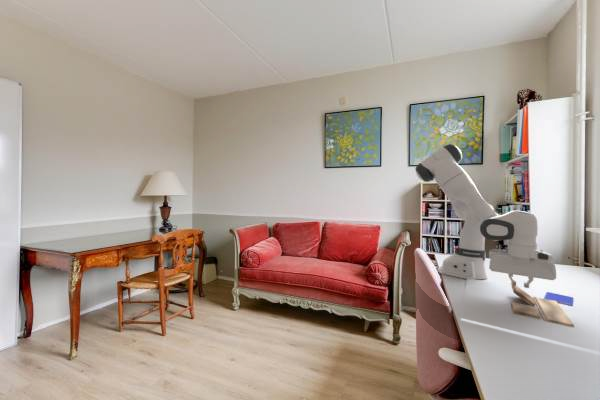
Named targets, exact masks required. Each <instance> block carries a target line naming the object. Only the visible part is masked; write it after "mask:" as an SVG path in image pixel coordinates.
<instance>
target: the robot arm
mask: <svg viewBox="0 0 600 400" xmlns="http://www.w3.org/2000/svg"><path fill="white" fill-rule="evenodd" d="M462 159H463V154H462V151H461V149H460V148H459V147H458V146H457V145H455V144H453V143H448V144H446V145H444V146H443V147H441V148H440V149H437V150H436V151H435V152H432V153H431V154H430V155H428V157H427V158H425V159H423V161H421V162H420V163H418V164H417V165H416V166H415V169H414V170H415V173H416V176H417V178H418V179H419V180H421V181H423V182H426V183H429V182H432V181H434V180H435V182H436V184H437V186H438V187H439V188H440V189H441V191H442V192H443V193H444V195H445V196H446V197H447V199H448V200H449V202H450V205H451V207H452V209H453V211H454V214H455V216H456V217H457V218H459V219H461V220H462V221H464V223H463V226H462V229H461V230H460V232H459V242H458V243H459V246H454V253H453V254H451V255H449V256H448V257H446V258H444V259H443V261H442V264H441V265H440V266H439V267H437V270H438V271H437V273H439V274H442V275H446V276H451V277H456V278H461V279H466V280H467V279H469V280H486V279H488V276H487V271H486V264H485V260H486V249H485V247H486V246H485V245H486V243H485V242H486V239H487V240H490V241H493V242H499V241H507V249H501V248H500V249H499V248H493V249H490V250H489V251H488V257H489V259H490V260H489V267H488V269H489V270H490V271H491V272H495V273H500V274H501V273H502V274H507V276H508V278H509V279H510V281H511V283H510V285H511V286H512V285H513V286H517V280H514V279H513V277H514V275H515V276H522V277H527V279H528V280H527V281H524V282H523V287H524V288H527V289H530V285H531V283H533V281H534V279H540V280H541V279H542V280H548V281H554V280H556V279H557V268H556V265H555V263H554V262H553V255H552V254H551V253H549V252H547V251H544V250H542V249H538V248H537V247H538V244H537V237H538V219H537V217H536V216H535V214H533V213H532V212H528V211H524V210H517V209H512V210H511V211H509V212H507V213H504V214H499V213H497V212H496V211H495V209H494V207H493V206H492V205H491V204H489V203H488V202H487V201H486V200H485V199H484V198H483V196H482V195H481V193H480V191H479V190H478V189H477V186H476V184H475V183H474V182H473V180H472V178H471V177H470V175H469V174H468V173H467V172H466V171H465V170H464V169H463V168H462V167H461V166H460V165H459V163H460V162H461V161H462Z"/></svg>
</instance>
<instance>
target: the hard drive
mask: <svg viewBox="0 0 600 400" xmlns="http://www.w3.org/2000/svg"><path fill="white" fill-rule="evenodd" d="M543 299H548V300H553V301H557V303H558V304H559V305H560V304H561V305H564V306H569V307H573V306H574V297H573V296H569V295H563V294H559V293H555V292H551V291H550V292H549V291H547V292H546V293H545V295H544V297H543Z"/></svg>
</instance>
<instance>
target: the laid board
mask: <svg viewBox="0 0 600 400" xmlns="http://www.w3.org/2000/svg"><path fill="white" fill-rule="evenodd" d="M532 299H533V301H534V303H535V306H536V309H537V311H539V314H540V316H542V319H543V320H544V321H545V322H551V323H556V324H559V325H565V326H568V327H575V324H574V323H573V322H572V320H571V318H570V317H569V316H568V315H567V313H566V312H565V311H564V309H563V308H562V306H561V305H560V303H557V301H553V300H548V299H544V298H541V297H537V296H532Z"/></svg>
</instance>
